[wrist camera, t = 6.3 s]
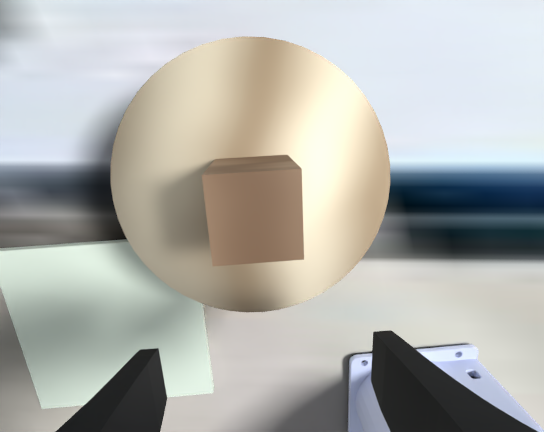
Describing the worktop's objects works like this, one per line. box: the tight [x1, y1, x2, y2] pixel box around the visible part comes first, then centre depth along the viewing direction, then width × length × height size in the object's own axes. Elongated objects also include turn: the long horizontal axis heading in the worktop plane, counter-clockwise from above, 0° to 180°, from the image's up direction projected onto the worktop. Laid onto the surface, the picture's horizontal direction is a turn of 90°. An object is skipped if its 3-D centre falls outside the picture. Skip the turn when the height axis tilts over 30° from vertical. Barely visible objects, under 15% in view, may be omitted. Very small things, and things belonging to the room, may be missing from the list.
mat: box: [0, 239, 214, 409], centre depth 21 cm, size 12×12×1 cm
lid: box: [111, 37, 390, 312], centre depth 12 cm, size 12×12×5 cm
